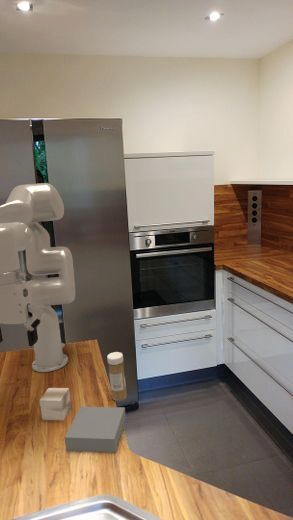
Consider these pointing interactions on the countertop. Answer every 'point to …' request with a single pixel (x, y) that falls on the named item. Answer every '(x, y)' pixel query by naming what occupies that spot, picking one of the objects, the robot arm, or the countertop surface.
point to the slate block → (96, 429)
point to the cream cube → (55, 404)
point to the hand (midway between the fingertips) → (15, 343)
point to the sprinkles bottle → (117, 376)
